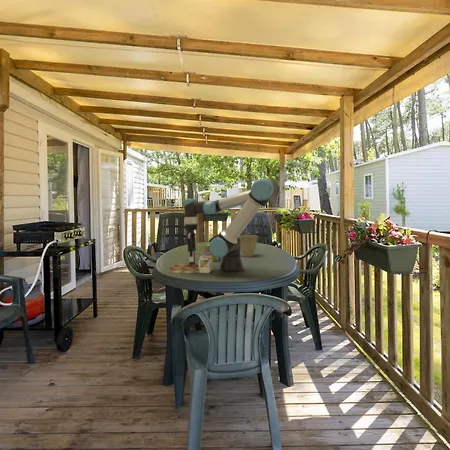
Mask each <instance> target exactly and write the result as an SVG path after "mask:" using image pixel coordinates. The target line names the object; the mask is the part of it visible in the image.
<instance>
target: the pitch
mask: <svg viewBox="0 0 450 450" xmlns="http://www.w3.org/2000/svg"><path fill="white" fill-rule="evenodd" d="M188 264H189V263H187V264H186V263H181V264H179V263H173V266H169V267H168V268H169V269H168V273H169V274H170V273H171V274H201V273H200V268H199V264H196V267H188ZM201 267H203V265H202V264H201Z"/></svg>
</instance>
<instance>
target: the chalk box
mask: <svg viewBox="0 0 450 450" xmlns="http://www.w3.org/2000/svg"><path fill="white" fill-rule="evenodd" d="M204 256H211V258H209V260H204V262H209V261H210V260H212V263H213V262H218V261H220V260H221V257H216V256H214V255H213V254H212V252H211V250H210V243H208V244H205V245H204ZM204 258H208V257H204Z"/></svg>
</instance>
